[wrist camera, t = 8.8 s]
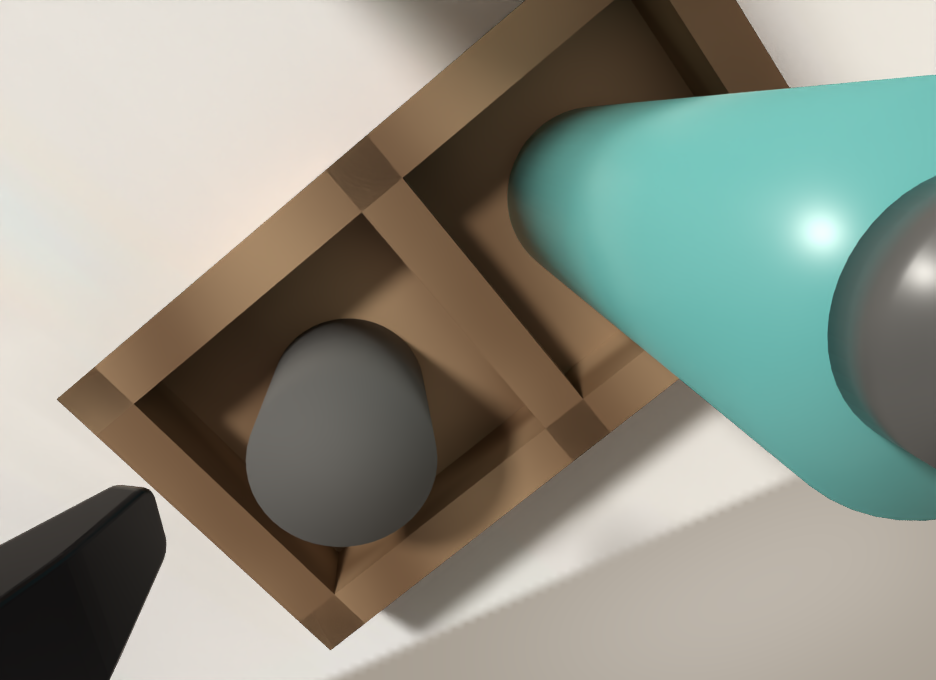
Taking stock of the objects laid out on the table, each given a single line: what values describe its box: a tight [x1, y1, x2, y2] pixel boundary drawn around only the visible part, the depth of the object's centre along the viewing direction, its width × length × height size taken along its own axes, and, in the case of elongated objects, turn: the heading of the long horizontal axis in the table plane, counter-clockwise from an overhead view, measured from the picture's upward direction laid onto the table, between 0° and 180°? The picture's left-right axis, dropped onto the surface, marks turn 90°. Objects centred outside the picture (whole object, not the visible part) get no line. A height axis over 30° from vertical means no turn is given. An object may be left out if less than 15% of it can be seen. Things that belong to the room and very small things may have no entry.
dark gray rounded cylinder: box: [246, 318, 437, 547], centre depth 18 cm, size 4×4×4 cm
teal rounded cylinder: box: [507, 75, 936, 521], centre depth 13 cm, size 4×4×14 cm
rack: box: [57, 0, 789, 650], centre depth 20 cm, size 18×9×3 cm, turn 129°
